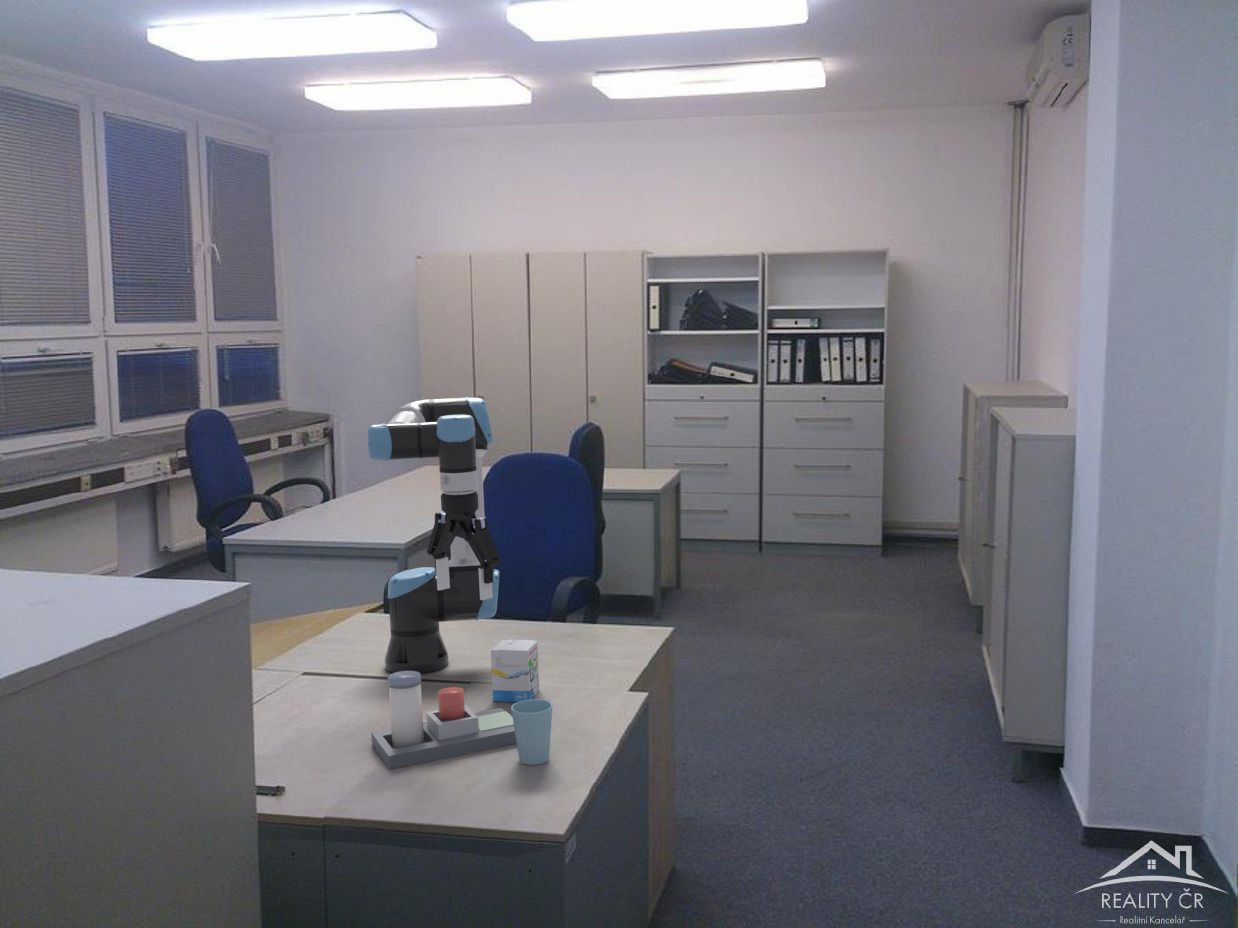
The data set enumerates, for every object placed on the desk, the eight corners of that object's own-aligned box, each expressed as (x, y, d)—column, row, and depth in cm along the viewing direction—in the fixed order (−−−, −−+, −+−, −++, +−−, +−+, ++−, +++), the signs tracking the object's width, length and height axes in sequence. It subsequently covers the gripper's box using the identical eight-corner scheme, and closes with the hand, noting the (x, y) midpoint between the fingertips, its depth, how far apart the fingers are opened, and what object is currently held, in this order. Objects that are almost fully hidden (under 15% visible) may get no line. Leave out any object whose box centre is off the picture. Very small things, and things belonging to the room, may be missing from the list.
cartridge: (388, 748, 214) (384, 674, 212) (420, 742, 217) (415, 668, 215) (397, 759, 209) (392, 682, 207) (428, 752, 211) (424, 677, 209)
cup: (505, 759, 207) (503, 705, 206) (538, 748, 212) (536, 696, 210) (529, 770, 201) (526, 715, 200) (562, 759, 206) (560, 705, 205)
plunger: (436, 714, 217) (434, 689, 217) (460, 709, 219) (459, 685, 219) (443, 722, 213) (442, 697, 212) (468, 717, 215) (467, 692, 214)
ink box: (529, 703, 238) (527, 650, 236) (492, 701, 240) (489, 649, 238) (540, 690, 246) (538, 639, 245) (504, 688, 248) (501, 638, 246)
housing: (371, 744, 217) (370, 717, 216) (501, 719, 228) (500, 693, 228) (389, 768, 204) (387, 740, 203) (525, 740, 216) (524, 713, 215)
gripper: (406, 489, 229) (412, 588, 232) (485, 499, 212) (490, 606, 215) (435, 484, 234) (440, 581, 237) (514, 494, 217) (519, 598, 220)
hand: (464, 593), depth 226 cm, fingers open, 13 cm apart
